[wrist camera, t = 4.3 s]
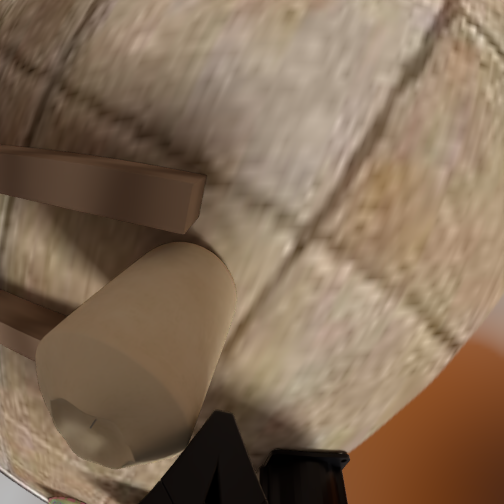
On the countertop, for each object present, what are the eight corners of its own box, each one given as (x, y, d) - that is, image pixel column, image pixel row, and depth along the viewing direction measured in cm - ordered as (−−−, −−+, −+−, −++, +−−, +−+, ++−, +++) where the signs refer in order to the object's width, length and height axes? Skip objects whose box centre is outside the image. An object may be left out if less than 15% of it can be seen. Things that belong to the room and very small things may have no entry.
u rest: (206, 175, 14) (192, 183, 11) (175, 374, 18) (163, 408, 15) (-49, 141, 13) (-78, 146, 11) (-41, 289, 17) (-63, 304, 15)
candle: (139, 230, 15) (-12, 329, 6) (246, 252, 15) (176, 411, 6) (137, 322, 17) (36, 449, 8) (230, 347, 17) (176, 510, 7)
